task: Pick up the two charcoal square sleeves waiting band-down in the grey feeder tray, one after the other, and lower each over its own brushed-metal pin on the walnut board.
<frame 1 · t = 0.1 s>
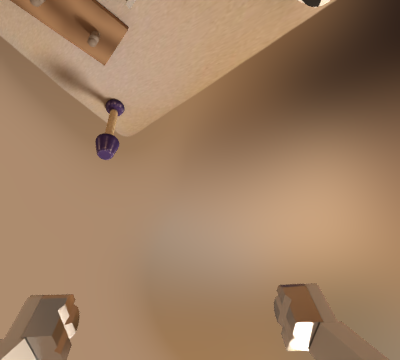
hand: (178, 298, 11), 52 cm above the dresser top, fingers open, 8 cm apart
pin board: (65, 7, 47), on the dresser top
toy lamp: (116, 106, 63), on the dresser top
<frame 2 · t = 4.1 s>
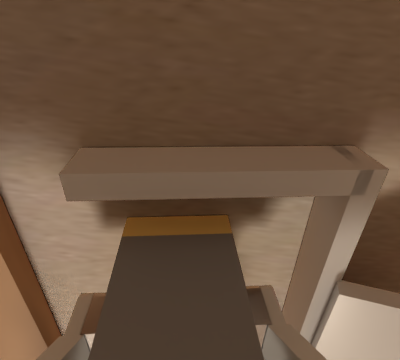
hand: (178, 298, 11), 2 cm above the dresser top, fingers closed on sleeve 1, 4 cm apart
sleeve 1: (179, 252, 13), on the dresser top, touching gripper
feeder tray: (180, 304, 15), on the dresser top
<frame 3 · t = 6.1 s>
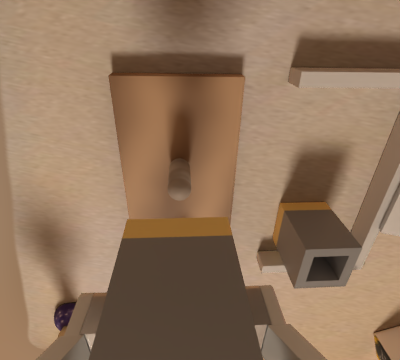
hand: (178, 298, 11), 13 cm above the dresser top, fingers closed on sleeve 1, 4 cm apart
pin board: (180, 193, 24), on the dresser top
sleeve 2: (297, 220, 26), on the dresser top
sleeve 1: (179, 254, 13), point 11 cm above the dresser top, touching gripper
medicine bottle: (397, 336, 39), on the dresser top
toy lamp: (77, 313, 32), on the dresser top
feeder tray: (308, 181, 24), on the dresser top
when the fingers open (4 cm above the dresser top, at t = 8.4 s): sleeve 1 stays where it is, resting on pin board.
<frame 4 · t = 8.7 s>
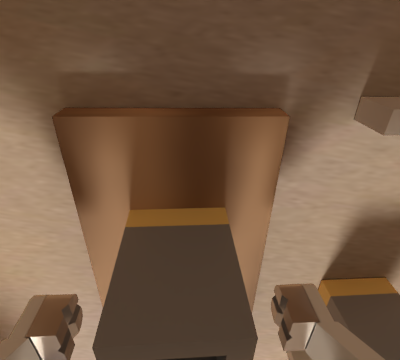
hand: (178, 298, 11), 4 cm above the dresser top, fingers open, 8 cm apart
pin board: (179, 272, 16), on the dresser top
sleeve 2: (344, 299, 19), on the dresser top
sleeve 1: (179, 243, 13), point 1 cm above the dresser top, touching pin board
feeder tray: (365, 253, 16), on the dresser top
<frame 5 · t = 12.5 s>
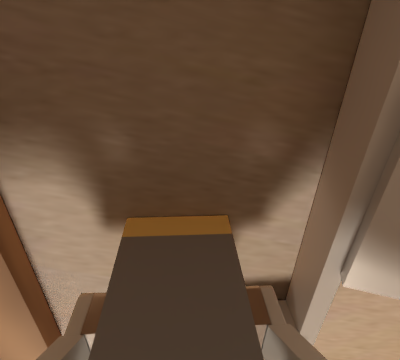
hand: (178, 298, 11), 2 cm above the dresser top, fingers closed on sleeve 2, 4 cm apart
sleeve 2: (179, 252, 13), on the dresser top, touching gripper
feeder tray: (176, 170, 10), on the dresser top
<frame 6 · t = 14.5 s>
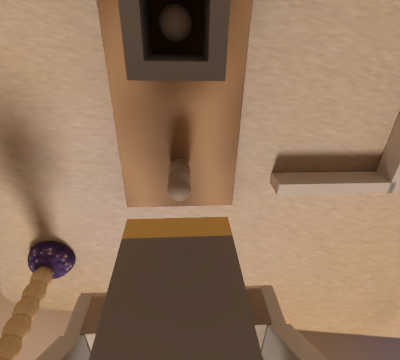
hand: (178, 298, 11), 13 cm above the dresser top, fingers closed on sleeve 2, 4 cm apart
pin board: (177, 81, 19), on the dresser top
sleeve 2: (179, 254, 13), point 11 cm above the dresser top, touching gripper
sleeve 1: (177, 24, 16), point 1 cm above the dresser top, touching pin board
toy lamp: (57, 256, 27), on the dresser top
feeder tray: (338, 68, 19), on the dresser top
when the fingers open (4 cm above the dresser top, at t = 16.7 s): sleeve 2 stays where it is, resting on pin board.
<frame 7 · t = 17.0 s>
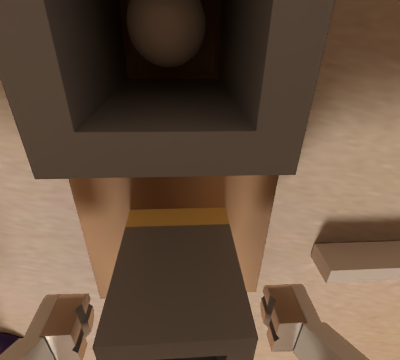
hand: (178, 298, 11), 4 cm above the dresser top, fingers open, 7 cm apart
pin board: (175, 120, 11), on the dresser top
sleeve 2: (179, 243, 13), point 1 cm above the dresser top, touching pin board
sleeve 1: (172, 26, 9), point 1 cm above the dresser top, touching pin board
toy lamp: (9, 347, 19), on the dresser top
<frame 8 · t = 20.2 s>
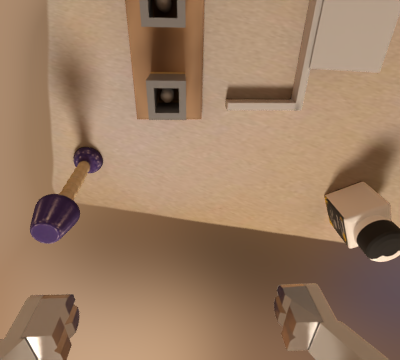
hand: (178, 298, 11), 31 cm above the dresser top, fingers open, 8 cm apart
pin board: (166, 38, 33), on the dresser top
sleeve 2: (168, 89, 35), point 1 cm above the dresser top, touching pin board
sleeve 1: (165, 4, 30), point 1 cm above the dresser top, touching pin board
medicine bottle: (345, 201, 49), on the dresser top
toy lamp: (91, 160, 41), on the dresser top
feeder tray: (257, 31, 34), on the dresser top
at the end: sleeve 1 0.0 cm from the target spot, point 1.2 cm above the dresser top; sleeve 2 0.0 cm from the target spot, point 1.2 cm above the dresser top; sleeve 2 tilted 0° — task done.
